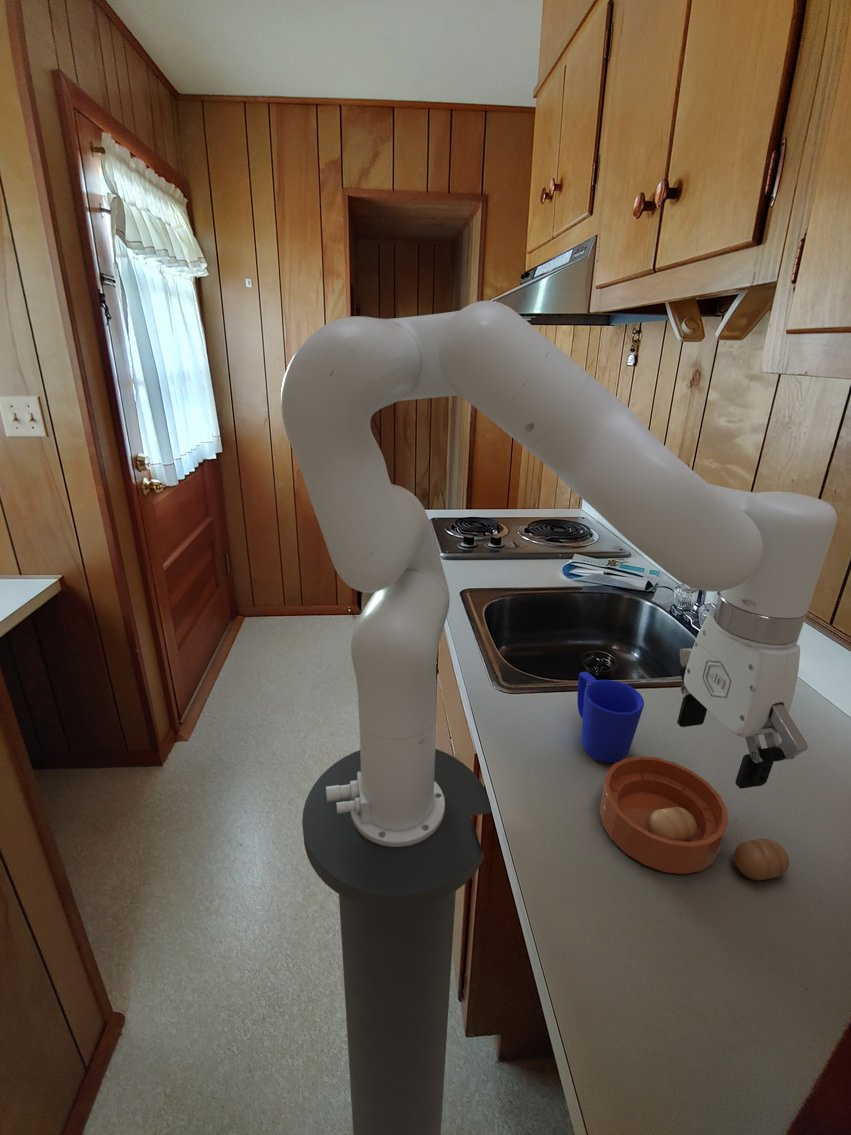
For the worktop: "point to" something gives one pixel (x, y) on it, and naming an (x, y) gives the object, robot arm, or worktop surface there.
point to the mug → (608, 717)
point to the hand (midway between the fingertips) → (717, 752)
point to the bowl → (659, 786)
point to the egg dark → (761, 859)
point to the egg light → (672, 824)
